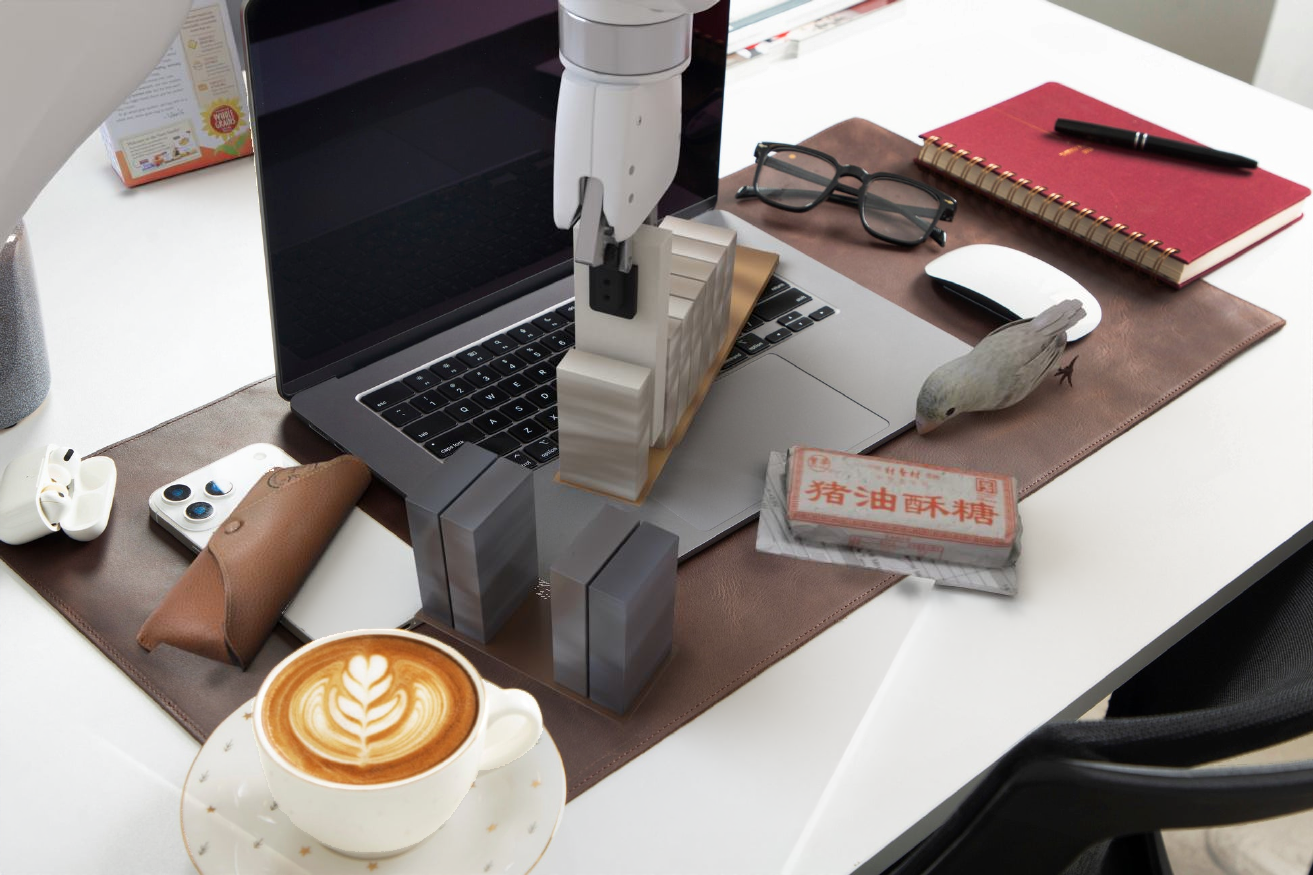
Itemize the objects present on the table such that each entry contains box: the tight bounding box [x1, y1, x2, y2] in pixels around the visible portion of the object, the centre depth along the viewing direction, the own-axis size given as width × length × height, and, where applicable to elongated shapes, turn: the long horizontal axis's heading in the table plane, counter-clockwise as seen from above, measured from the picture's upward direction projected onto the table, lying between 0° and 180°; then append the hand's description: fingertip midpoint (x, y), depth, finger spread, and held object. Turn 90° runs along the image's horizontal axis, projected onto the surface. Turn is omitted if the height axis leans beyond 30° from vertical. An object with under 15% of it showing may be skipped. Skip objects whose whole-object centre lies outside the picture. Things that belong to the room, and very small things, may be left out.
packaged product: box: [755, 445, 1024, 597], centre depth 81 cm, size 18×5×10 cm
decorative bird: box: [915, 298, 1088, 436], centre depth 91 cm, size 5×16×8 cm, turn 122°
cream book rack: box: [552, 215, 780, 508], centre depth 92 cm, size 36×7×12 cm, turn 159°
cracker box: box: [98, 0, 254, 188], centre depth 112 cm, size 14×6×21 cm, turn 126°
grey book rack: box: [404, 441, 682, 727], centre depth 70 cm, size 16×7×12 cm, turn 60°
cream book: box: [572, 219, 673, 447], centre depth 79 cm, size 2×6×17 cm, turn 70°
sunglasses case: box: [135, 453, 372, 673], centre depth 77 cm, size 18×7×7 cm, turn 165°
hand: (621, 298), depth 77 cm, fingers closed on cream book, 2 cm apart
